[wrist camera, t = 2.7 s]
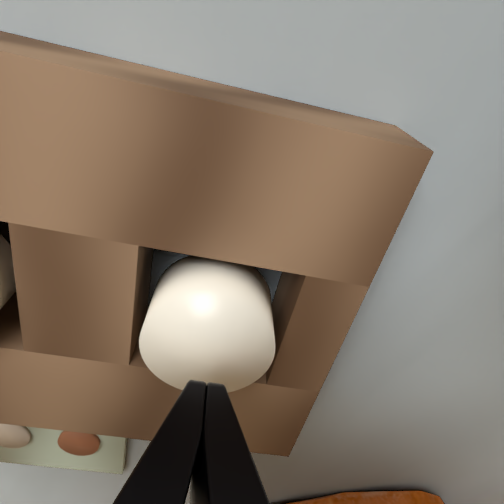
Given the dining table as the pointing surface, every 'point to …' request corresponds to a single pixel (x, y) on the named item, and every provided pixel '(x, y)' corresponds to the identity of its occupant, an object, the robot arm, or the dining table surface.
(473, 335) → the dining table surface
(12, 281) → the off-white egg
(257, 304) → the white egg
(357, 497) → the bread
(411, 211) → the dining table surface
